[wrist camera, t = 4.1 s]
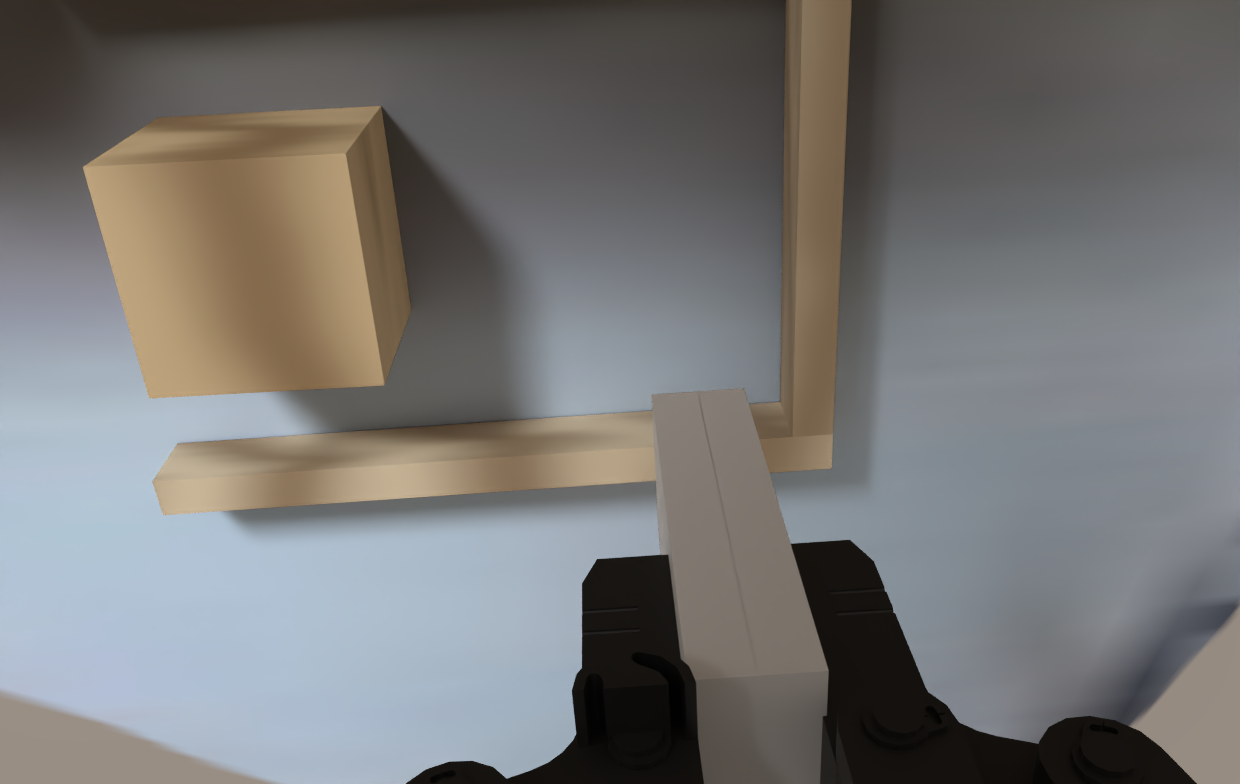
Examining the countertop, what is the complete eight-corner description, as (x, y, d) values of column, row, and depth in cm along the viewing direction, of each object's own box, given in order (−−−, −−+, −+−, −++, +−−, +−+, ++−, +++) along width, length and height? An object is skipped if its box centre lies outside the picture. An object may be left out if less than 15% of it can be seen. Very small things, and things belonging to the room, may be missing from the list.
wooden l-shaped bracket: (187, 475, 33) (163, 514, 31) (18, -87, 26) (-27, -81, 24) (816, 431, 33) (831, 468, 32) (836, -142, 26) (857, -140, 24)
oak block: (210, 319, 31) (149, 398, 27) (160, 116, 28) (83, 167, 24) (411, 308, 31) (384, 385, 27) (381, 105, 28) (345, 153, 24)
